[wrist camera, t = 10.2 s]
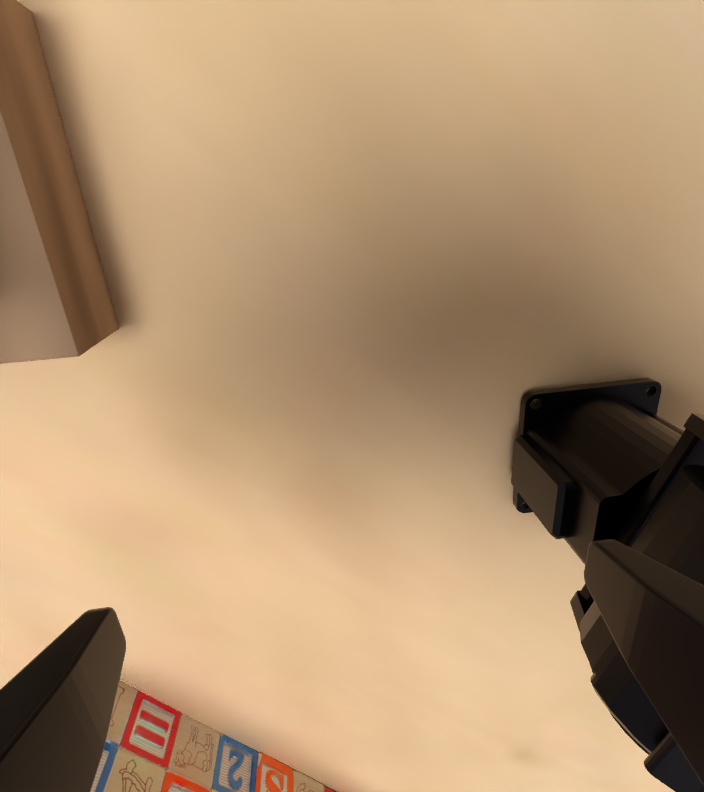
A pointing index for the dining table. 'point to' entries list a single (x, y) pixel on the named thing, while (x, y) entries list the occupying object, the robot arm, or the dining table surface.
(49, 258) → the walnut block
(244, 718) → the dining table surface
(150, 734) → the stack of blocks
